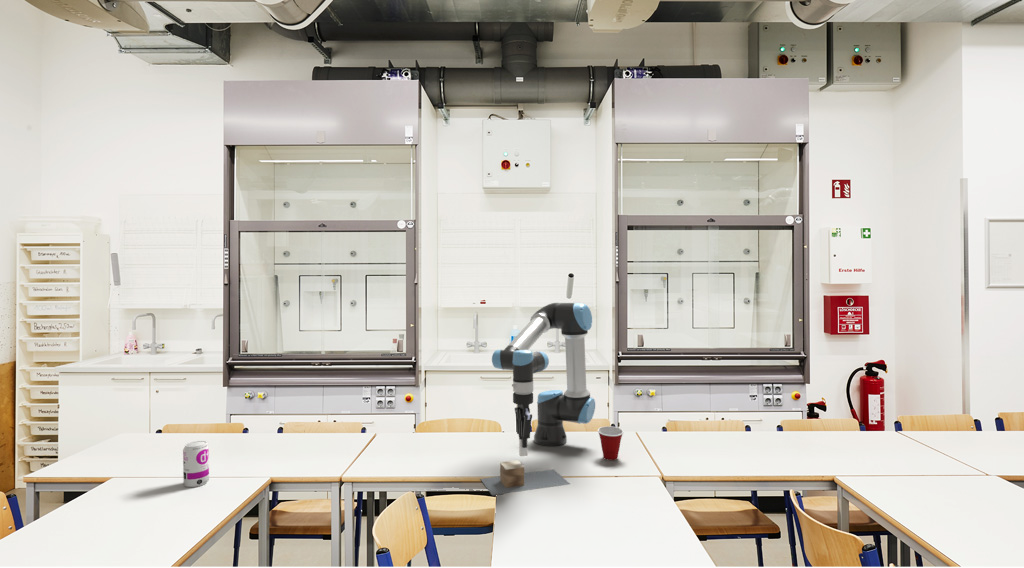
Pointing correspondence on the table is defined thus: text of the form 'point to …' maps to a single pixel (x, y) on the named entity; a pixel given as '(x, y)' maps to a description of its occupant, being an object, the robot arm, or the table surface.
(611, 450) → the plastic cup
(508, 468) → the light wooden block
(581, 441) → the table surface
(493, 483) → the rubber mat
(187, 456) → the supplement can
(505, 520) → the table surface
